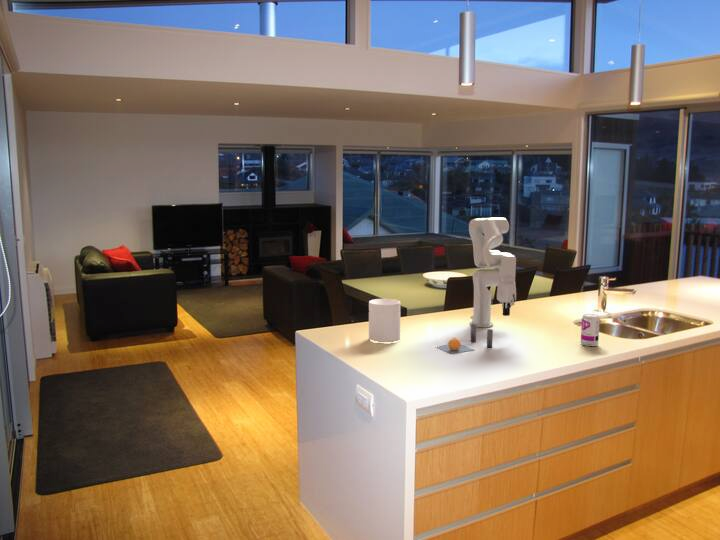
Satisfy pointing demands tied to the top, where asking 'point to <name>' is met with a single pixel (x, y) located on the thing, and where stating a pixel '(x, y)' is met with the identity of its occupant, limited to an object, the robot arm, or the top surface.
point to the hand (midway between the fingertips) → (506, 315)
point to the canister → (384, 320)
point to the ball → (454, 344)
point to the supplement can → (590, 330)
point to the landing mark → (462, 349)
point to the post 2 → (489, 338)
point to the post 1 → (473, 332)
